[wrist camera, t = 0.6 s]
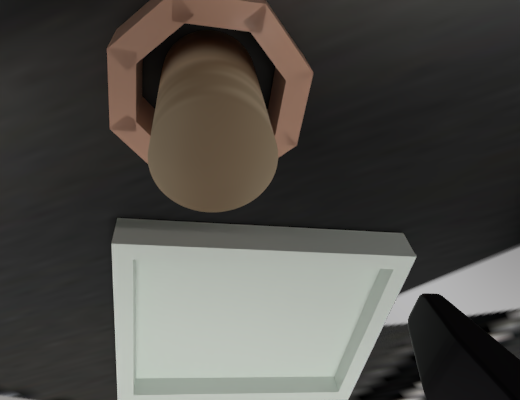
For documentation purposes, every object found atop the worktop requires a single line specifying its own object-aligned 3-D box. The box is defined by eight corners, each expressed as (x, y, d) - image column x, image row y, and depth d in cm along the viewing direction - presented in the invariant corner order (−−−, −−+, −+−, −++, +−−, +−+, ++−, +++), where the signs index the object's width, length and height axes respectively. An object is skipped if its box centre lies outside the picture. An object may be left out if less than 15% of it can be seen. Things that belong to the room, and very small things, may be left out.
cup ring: (313, -4, 18) (327, 12, 16) (278, 160, 22) (287, 188, 20) (115, -33, 17) (103, -20, 15) (119, 147, 21) (111, 176, 19)
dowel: (261, 36, 19) (289, 107, 13) (247, 123, 21) (266, 215, 15) (163, 23, 18) (148, 93, 12) (160, 115, 20) (146, 208, 15)
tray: (403, 233, 26) (416, 256, 25) (341, 374, 34) (348, 399, 33) (117, 217, 23) (111, 243, 22) (121, 376, 31) (117, 403, 30)
